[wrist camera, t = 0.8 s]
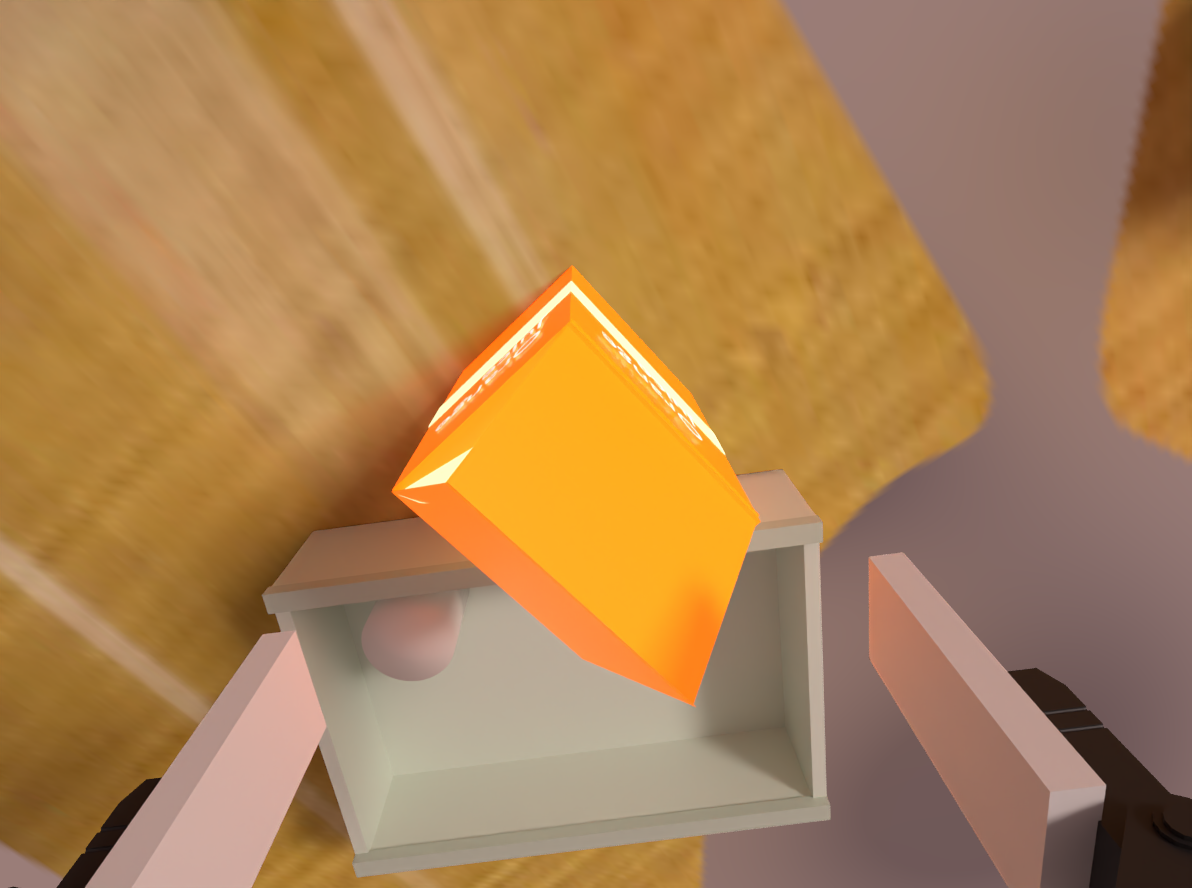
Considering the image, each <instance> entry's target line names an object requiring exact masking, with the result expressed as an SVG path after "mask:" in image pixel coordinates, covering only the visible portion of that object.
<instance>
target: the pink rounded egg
mask: <svg viewBox="0 0 1192 888" xmlns="http://www.w3.org/2000/svg"><path fill="white" fill-rule="evenodd" d="M469 592H470V588H467V589H459V590H452V591H444V592H436V593H429V594H421V595H413V596H405V597H398V598H390V599H382V600H376V603H375V605H374V607H373V609H372V611H371V613H370V615H369V617H368V619H367V621H366V623H365V626H364V628H363V631H362V637H361V641H362V648H363V651H364V654H365V655H366V657H367V659H368V660H369V662H370V663H371V664H372V665H373V666H374V667H375V668H376V669H377V670H378V671H380V672H381V673H383V674H385V675H387V676H389V677H391V678H394V679H398V680H403V681H420V680H425V679H428V678H431V677H433V676H435V675H437V674H439V673H440V672H441V671H443V670H444V669H445V668H446V667H447V666H448V664H449V663H450V661H451V659H452V657H453V654H454V651H455V647H456V643H457V639H458V635H459V632H460V628H461V624H462V620H463V616H464V612H465V609H466V605H467V601H468V597H469Z"/></svg>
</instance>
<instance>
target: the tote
mask: <svg viewBox="0 0 1192 888" xmlns="http://www.w3.org/2000/svg"><path fill="white" fill-rule="evenodd" d="M736 477H737V479H738V481H739V483H740V484H741V486H742V488H743V490H744V492H745V494H746V496H747V497H748V499H749V501H750V503H751V505H752V507H753V508H754V510H755V511H756V512H757V513H758V514H759V517H758V518H759V519H760V521H761V522H760V523H759V524H758V525H756V526H755V528H754V531H753V534H752V537H751V540H750V543H749V546H748V549H747V551H746V554H745V557H744V560H743V563H742V566H741V569H740V572H739V574H738V577H737V580H736V583H735V586H734V589H733V592H732V595H731V597H730V600H729V603H728V606H727V609H726V612H725V615H724V618H723V621H722V623H721V626H720V629H719V632H718V635H717V638H716V641H715V644H714V646H713V649H712V652H711V655H710V658H709V661H708V664H707V667H706V669H705V672H704V675H703V678H702V681H701V684H700V687H699V690H698V693H697V695H696V698H695V701H694V705H695V706H696V707H695V706H692V705H690V704H688V703H685V702H683V701H681V700H678V699H676V698H673V697H671V696H669V695H666V694H664V693H662V692H659V691H657V690H655V689H652V688H650V687H647V686H645V685H643V684H640V683H638V682H636V681H633V680H631V679H629V678H626V677H624V676H621V675H619V674H617V673H614V672H612V671H610V670H607V669H605V668H602V667H600V666H598V665H595V664H593V663H591V662H588V661H586V660H584V659H582V658H581V657H580V656H579V655H577V654H576V653H575V652H574V651H573V650H572V649H571V648H569V647H568V646H567V645H566V644H565V643H564V642H563V641H561V640H560V639H559V638H558V637H557V636H556V635H555V634H553V633H552V632H551V631H550V630H549V629H548V628H547V627H545V626H544V625H543V624H542V623H541V622H540V621H539V620H537V619H536V618H535V617H534V616H533V615H532V614H531V613H529V612H528V611H527V610H526V609H525V608H524V607H523V606H521V605H520V604H519V603H518V602H517V601H516V600H515V599H513V598H512V597H511V596H510V595H509V594H508V593H506V592H505V591H504V590H503V589H502V588H501V587H500V586H498V585H497V584H496V583H495V582H494V581H493V580H492V579H490V578H489V577H488V576H487V575H486V574H485V573H484V572H482V571H481V570H480V569H479V568H478V567H477V566H476V565H474V564H473V563H472V562H471V561H470V560H469V559H468V558H466V557H465V556H464V555H463V554H462V553H461V552H460V551H458V550H457V549H456V548H455V547H454V546H453V545H452V544H450V543H449V542H448V541H447V540H446V539H445V538H444V537H442V536H441V535H440V534H439V533H438V532H437V531H436V530H434V529H433V528H432V527H431V526H430V525H429V524H428V523H426V522H425V521H424V520H423V519H422V518H421V517H417V518H409V519H402V520H394V521H387V522H379V523H372V524H364V525H357V526H349V527H341V528H334V529H326V530H319V531H313V532H312V533H311V535H310V536H309V537H308V539H307V540H306V541H305V543H304V544H303V545H302V547H301V548H300V549H299V551H298V552H297V553H296V555H295V556H294V557H293V559H292V560H291V561H290V563H289V564H288V565H287V567H286V568H285V569H284V571H283V572H282V573H281V575H280V576H279V577H278V579H277V580H276V581H275V583H274V584H273V585H272V587H268V588H267V589H266V590H265V592H264V593H263V594H262V597H263V600H264V603H265V606H266V609H267V612H268V614H275V615H276V618H277V621H278V624H279V627H280V630H281V632H285V631H293V630H295V631H296V634H297V637H298V640H299V643H300V646H301V649H302V652H303V655H304V658H305V661H306V664H307V668H308V671H309V674H310V677H311V680H312V683H313V686H314V689H315V692H316V695H317V698H318V701H319V704H320V707H321V710H322V714H323V717H324V720H325V723H326V729H325V731H324V733H323V735H322V737H321V739H320V741H319V747H320V750H321V753H322V756H323V759H324V762H325V765H326V768H327V771H328V774H329V777H330V780H331V783H332V786H333V789H334V792H335V795H336V798H337V801H338V804H339V807H340V810H341V813H342V816H343V819H344V822H345V825H346V828H347V831H348V834H349V837H350V840H351V843H352V846H353V849H354V852H355V857H354V860H353V863H352V864H353V867H354V870H355V873H356V876H357V877H364V876H373V875H381V874H389V873H397V872H405V871H413V870H422V869H430V868H438V867H446V866H454V865H462V864H471V863H479V862H487V861H495V860H503V859H511V858H520V857H528V856H536V855H544V854H552V853H561V852H569V851H577V850H585V849H593V848H601V847H610V846H618V845H626V844H634V843H642V842H650V841H659V840H667V839H675V838H683V837H691V836H699V835H708V834H716V833H723V832H732V831H740V830H748V829H756V828H765V827H773V826H781V825H789V824H798V823H805V822H814V821H822V820H830V819H831V818H830V803H829V801H828V799H827V792H826V757H825V723H824V688H823V653H822V623H821V621H822V619H821V585H820V550H819V543H820V542H823V522H822V521H821V519H820V518H819V516H818V515H815V514H814V512H813V511H812V510H811V508H810V507H809V505H808V504H807V503H806V501H805V500H804V499H803V497H802V496H801V494H800V493H799V492H798V490H797V489H796V487H795V486H794V485H793V483H792V482H791V480H790V479H789V478H788V476H787V475H786V474H785V472H784V471H783V469H780V470H772V471H765V472H757V473H750V474H742V475H736ZM467 588H470V592H469V597H468V601H467V605H466V609H465V612H464V616H463V620H462V624H461V628H460V632H459V635H458V639H457V643H456V647H455V651H454V654H453V657H452V659H451V661H450V663H449V664H448V666H447V667H446V668H445V669H444V670H443V671H441V672H440V673H439V674H437V675H435V676H433V677H431V678H428V679H425V680H420V681H403V680H398V679H394V678H391V677H389V676H387V675H385V674H383V673H381V672H380V671H378V670H377V669H376V668H375V667H374V666H373V665H372V664H371V663H370V662H369V660H368V659H367V657H366V655H365V654H364V651H363V648H362V641H361V637H362V631H363V628H364V626H365V623H366V621H367V619H368V617H369V615H370V613H371V611H372V609H373V607H374V605H375V603H376V600H382V599H390V598H398V597H405V596H413V595H421V594H429V593H436V592H444V591H452V590H459V589H467Z"/></svg>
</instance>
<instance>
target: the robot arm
mask: <svg viewBox="0 0 1192 888" xmlns="http://www.w3.org/2000/svg"><path fill="white" fill-rule="evenodd" d="M869 659H870V661H871V662H872V664H873V665H874V667H875V669H876V670H877V672H878V674H879V675H880V677H881V679H882V680H883V682H884V684H885V685H886V687H887V689H888V690H889V692H890V694H891V695H892V697H893V698H894V700H895V702H896V704H897V705H898V707H899V708H900V710H901V712H902V713H903V715H904V717H905V718H906V720H907V722H908V723H909V725H910V726H911V728H912V730H913V731H914V733H915V735H916V736H917V738H918V740H919V741H920V743H921V745H922V746H923V748H924V749H925V751H926V753H927V754H928V756H929V758H930V759H931V761H932V763H933V764H934V766H935V768H936V769H937V771H938V772H939V774H940V776H941V778H942V779H943V781H944V782H945V784H946V786H947V787H948V789H949V791H950V792H951V794H952V796H953V797H954V799H955V801H956V802H957V804H958V805H959V807H960V809H961V810H962V812H963V814H964V815H965V817H966V819H967V820H968V822H969V824H970V825H971V827H972V828H973V830H974V832H975V833H976V835H977V837H978V838H979V840H980V842H981V843H982V845H983V847H984V848H985V850H986V851H987V853H988V855H989V856H990V858H991V860H992V861H993V863H994V865H995V866H996V868H997V870H998V871H999V873H1000V875H1001V876H1002V878H1003V880H1004V881H1005V883H1006V884H1007V886H1008V888H1192V799H1190V798H1186V797H1182V796H1178V795H1173V794H1170V793H1169V792H1168V791H1167V790H1166V789H1165V788H1164V787H1163V786H1162V785H1161V784H1160V783H1159V781H1157V779H1156V778H1155V777H1154V776H1153V775H1152V774H1151V773H1150V772H1149V771H1148V770H1147V769H1146V768H1145V767H1144V766H1143V765H1142V764H1141V763H1140V762H1139V761H1138V760H1137V759H1136V758H1135V757H1134V756H1133V755H1132V754H1131V753H1130V752H1129V750H1128V749H1127V748H1125V746H1124V745H1123V744H1122V743H1121V742H1120V741H1119V740H1118V739H1117V738H1116V737H1115V736H1114V735H1113V734H1112V733H1111V732H1110V731H1109V730H1108V729H1107V728H1104V727H1103V724H1102V722H1101V721H1100V720H1099V719H1098V718H1097V717H1096V716H1095V715H1094V714H1093V713H1092V712H1091V711H1087V709H1086V706H1085V705H1084V704H1083V703H1082V702H1081V701H1080V700H1079V699H1078V698H1077V697H1076V696H1075V695H1074V694H1073V692H1072V691H1070V689H1069V688H1068V687H1067V686H1066V685H1064V684H1063V683H1061V682H1059V681H1058V680H1056V679H1054V678H1052V677H1051V676H1049V675H1047V674H1045V673H1044V672H1042V671H1040V670H1039V669H1037V668H1034V669H1025V670H1016V671H1008V672H1007V671H1006V670H1005V669H1004V668H1003V666H1002V665H1001V664H1000V663H999V662H998V661H997V659H996V658H995V657H994V656H993V655H992V654H991V653H990V651H989V650H988V649H987V648H986V647H985V646H984V645H983V644H982V642H981V641H980V640H979V639H978V638H977V637H976V635H975V634H974V633H973V632H972V631H971V630H970V629H969V627H968V626H967V625H966V624H965V623H964V622H963V621H962V619H961V618H960V617H959V616H958V615H957V614H956V612H955V611H954V610H953V609H952V608H951V607H950V606H949V605H948V603H947V602H946V601H945V600H944V599H943V598H942V597H941V595H940V594H939V593H938V592H937V591H936V590H935V589H934V587H933V586H932V585H931V584H930V583H929V582H928V581H927V579H926V578H925V577H924V576H923V575H922V574H921V572H920V571H919V570H918V569H917V568H916V567H915V566H914V564H913V563H912V562H911V561H910V560H909V559H908V558H907V556H906V555H905V554H904V553H896V554H887V555H879V556H872V557H869ZM325 729H326V723H325V720H324V717H323V714H322V710H321V707H320V704H319V701H318V698H317V695H316V692H315V689H314V686H313V683H312V680H311V677H310V674H309V671H308V668H307V664H306V661H305V658H304V655H303V652H302V649H301V646H300V643H299V640H298V637H297V634H296V631H295V630H293V631H285V632H277V633H269V634H262V636H261V637H260V639H259V640H258V642H257V643H256V644H255V646H254V647H253V649H252V650H251V652H250V653H249V654H248V656H247V657H246V659H245V660H244V662H243V663H242V664H241V666H240V667H239V669H238V670H237V672H236V673H235V674H234V676H233V677H232V679H231V680H230V681H229V683H228V684H227V686H226V687H225V689H224V690H223V691H222V693H221V694H220V696H219V697H218V699H217V700H216V701H215V703H214V704H213V706H212V707H211V709H210V710H209V711H208V713H207V714H206V716H205V717H204V719H203V720H202V721H201V723H200V724H199V726H198V727H197V729H196V730H195V731H194V733H193V734H192V736H191V737H190V738H189V740H188V741H187V743H186V744H185V746H184V747H183V748H182V750H181V751H180V753H179V754H178V756H177V757H176V758H175V760H174V761H173V763H172V764H171V766H170V767H169V768H168V770H167V771H166V773H165V774H164V776H163V777H162V778H154V779H146V780H145V781H144V782H143V783H142V784H141V785H139V786H138V787H137V788H136V789H135V790H134V791H133V792H131V793H130V794H129V795H128V796H127V797H126V798H124V799H123V800H122V801H121V802H120V803H119V804H118V806H117V807H116V808H115V810H114V811H113V812H112V814H111V815H110V816H109V818H108V819H107V820H106V822H105V823H104V824H103V826H102V827H101V832H100V833H97V834H96V835H95V837H94V838H93V839H92V841H91V842H90V843H89V845H88V846H87V847H86V852H85V854H81V855H80V857H79V858H78V859H77V861H76V862H75V864H74V865H73V866H72V868H71V869H70V870H69V872H68V873H67V874H66V876H65V877H64V878H63V880H62V881H61V882H60V884H59V885H58V886H57V888H252V885H253V883H254V881H255V879H256V877H257V875H258V873H259V870H260V868H261V866H262V864H263V862H264V860H265V858H266V855H267V853H268V851H269V849H270V847H271V845H272V842H273V840H274V838H275V836H276V834H277V832H278V830H279V827H280V825H281V823H282V821H283V819H284V817H285V815H286V812H287V810H288V808H289V806H290V804H291V802H292V799H293V797H294V795H295V793H296V791H297V789H298V787H299V784H300V782H301V780H302V778H303V776H304V774H305V772H306V769H307V767H308V765H309V763H310V761H311V759H312V757H313V754H314V752H315V750H316V748H317V746H318V744H319V741H320V739H321V737H322V735H323V733H324V731H325ZM10 888H17V887H10Z"/></svg>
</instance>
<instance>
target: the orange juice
mask: <svg viewBox="0 0 1192 888" xmlns="http://www.w3.org/2000/svg"><path fill="white" fill-rule="evenodd" d="M428 427H429V429H428V431H427V432H426V434H425V436H424V437H423V439H422V441H421V442H420V444H419V446H418V447H417V449H416V451H415V452H414V454H413V456H412V457H411V459H410V461H409V462H408V464H407V466H406V467H405V469H404V471H403V472H402V474H401V476H400V477H399V479H398V481H397V482H396V484H395V486H394V487H393V489H392V490H393V491H391V492H392V493H393V494H394V495H395V496H397V497H398V498H399V499H400V500H401V501H402V502H403V503H405V504H406V505H407V506H408V507H409V508H410V509H412V510H413V511H414V512H415V513H416V514H417V515H418V516H420V517H421V518H422V519H423V520H424V521H425V522H426V523H428V524H429V525H430V526H431V527H432V528H433V529H434V530H436V531H437V532H438V533H439V534H440V535H441V536H442V537H444V538H445V539H446V540H447V541H448V542H449V543H450V544H452V545H453V546H454V547H455V548H456V549H457V550H458V551H460V552H461V553H462V554H463V555H464V556H465V557H466V558H468V559H469V560H470V561H471V562H472V563H473V564H474V565H476V566H477V567H478V568H479V569H480V570H481V571H482V572H484V573H485V574H486V575H487V576H488V577H489V578H490V579H492V580H493V581H494V582H495V583H496V584H497V585H498V586H500V587H501V588H502V589H503V590H504V591H505V592H506V593H508V594H509V595H510V596H511V597H512V598H513V599H515V600H516V601H517V602H518V603H519V604H520V605H521V606H523V607H524V608H525V609H526V610H527V611H528V612H529V613H531V614H532V615H533V616H534V617H535V618H536V619H537V620H539V621H540V622H541V623H542V624H543V625H544V626H545V627H547V628H548V629H549V630H550V631H551V632H552V633H553V634H555V635H556V636H557V637H558V638H559V639H560V640H561V641H563V642H564V643H565V644H566V645H567V646H568V647H569V648H571V649H572V650H573V651H574V652H575V653H576V654H577V655H579V656H580V657H581V658H582V659H584V660H586V661H588V662H591V663H593V664H595V665H598V666H600V667H602V668H605V669H607V670H610V671H612V672H614V673H617V674H619V675H621V676H624V677H626V678H629V679H631V680H633V681H636V682H638V683H640V684H643V685H645V686H647V687H650V688H652V689H655V690H657V691H659V692H662V693H664V694H666V695H669V696H671V697H673V698H676V699H678V700H681V701H683V702H685V703H688V704H690V705H692V706H695V705H694V701H695V698H696V695H697V693H698V690H699V687H700V684H701V681H702V678H703V675H704V672H705V669H706V667H707V664H708V661H709V658H710V655H711V652H712V649H713V646H714V644H715V641H716V638H717V635H718V632H719V629H720V626H721V623H722V621H723V618H724V615H725V612H726V609H727V606H728V603H729V600H730V597H731V595H732V592H733V589H734V586H735V583H736V580H737V577H738V574H739V572H740V569H741V566H742V563H743V560H744V557H745V554H746V551H747V549H748V546H749V543H750V540H751V537H752V534H753V531H754V528H755V526H756V525H758V524H759V523H760V522H761V521H760V519H759V518H758V517H759V514H758V513H757V512H756V511H755V510H754V508H753V507H752V505H751V503H750V501H749V499H748V497H747V496H746V494H745V492H744V490H743V488H742V486H741V484H740V483H739V481H738V479H737V477H736V475H735V473H734V472H733V470H732V468H731V466H730V464H729V462H728V461H727V459H726V457H725V453H724V451H723V449H722V447H721V445H720V443H719V442H718V440H717V438H716V436H715V434H714V433H713V432H712V431H711V429H710V427H709V426H708V424H707V422H706V420H705V418H704V416H703V415H702V413H701V411H700V409H699V407H698V405H697V404H696V402H695V400H694V398H693V396H692V394H691V393H690V392H689V391H688V390H687V389H686V388H685V387H684V386H683V384H682V383H681V382H680V381H679V380H678V379H677V378H676V377H675V376H674V375H673V374H672V373H671V371H670V370H669V369H668V368H667V367H666V366H665V365H664V364H663V363H662V362H661V361H660V360H659V359H658V357H657V356H656V355H655V354H654V353H653V352H652V351H651V350H650V349H649V348H648V347H647V346H646V345H645V343H644V342H643V341H642V340H641V339H640V338H639V337H638V336H637V335H636V334H635V333H634V332H633V330H632V329H631V328H630V327H629V326H628V325H627V324H626V323H625V322H624V321H623V320H622V319H621V318H620V316H619V315H618V314H617V313H616V312H615V311H614V310H613V309H612V308H611V307H610V306H609V305H608V304H607V302H606V301H605V300H604V299H603V298H602V297H601V296H600V295H599V294H598V293H597V292H596V291H595V289H594V288H593V287H592V286H591V285H590V284H589V283H588V282H587V281H586V280H585V279H584V278H583V277H582V275H581V274H580V273H579V272H578V271H577V270H576V269H575V268H574V267H573V266H571V267H570V268H569V269H568V270H567V271H566V272H565V273H564V274H563V275H562V276H561V277H560V278H559V279H558V280H557V281H556V282H554V283H553V284H552V285H551V286H550V287H549V288H548V289H547V290H546V291H545V292H544V293H543V294H542V295H541V296H540V297H539V298H538V299H537V300H536V301H535V302H534V303H533V304H532V305H531V306H530V307H529V308H528V309H527V310H526V311H525V312H524V313H523V314H522V315H520V316H519V317H518V318H517V319H516V320H515V321H514V322H513V323H512V324H511V325H510V326H509V327H508V328H507V329H506V330H505V331H504V332H503V333H502V334H501V335H500V336H499V337H498V338H497V339H496V340H495V341H494V342H493V343H492V344H491V345H490V346H489V347H488V348H486V349H485V350H484V351H483V352H482V353H481V354H480V355H479V356H478V357H477V358H476V359H475V360H474V361H473V362H472V363H471V364H470V365H469V366H468V367H467V368H466V369H465V370H464V371H463V372H462V374H461V375H460V377H459V379H458V380H457V382H456V384H455V385H454V387H453V389H452V390H451V392H450V394H449V395H448V397H447V399H446V400H445V402H444V404H443V405H442V406H441V407H440V408H439V410H438V411H437V413H436V415H435V416H434V418H433V420H432V421H431V423H430V425H429V426H428ZM695 707H696V706H695Z"/></svg>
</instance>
